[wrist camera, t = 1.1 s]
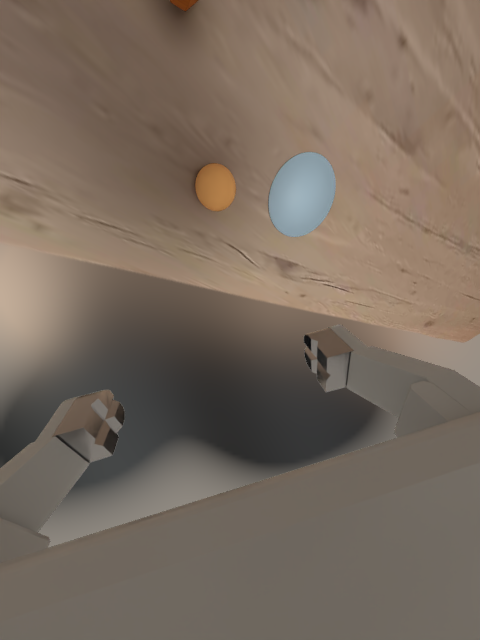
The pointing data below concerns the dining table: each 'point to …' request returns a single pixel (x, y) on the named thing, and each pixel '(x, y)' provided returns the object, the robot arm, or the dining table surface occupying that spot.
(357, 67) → the dining table surface
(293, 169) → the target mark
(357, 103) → the dining table surface
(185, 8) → the carrot
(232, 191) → the ball
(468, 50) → the dining table surface
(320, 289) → the dining table surface
